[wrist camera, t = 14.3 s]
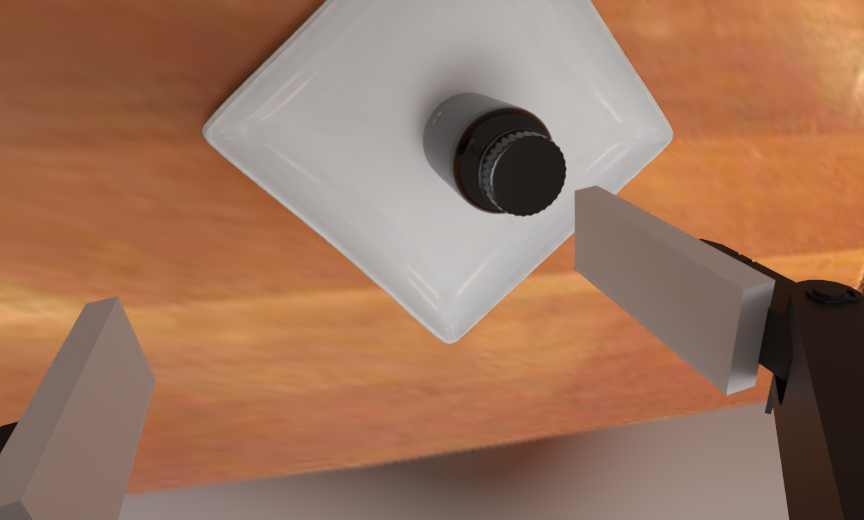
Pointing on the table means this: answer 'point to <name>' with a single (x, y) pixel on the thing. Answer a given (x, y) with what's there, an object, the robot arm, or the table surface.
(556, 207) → the square plate
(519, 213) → the supplement bottle
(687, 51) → the table surface
